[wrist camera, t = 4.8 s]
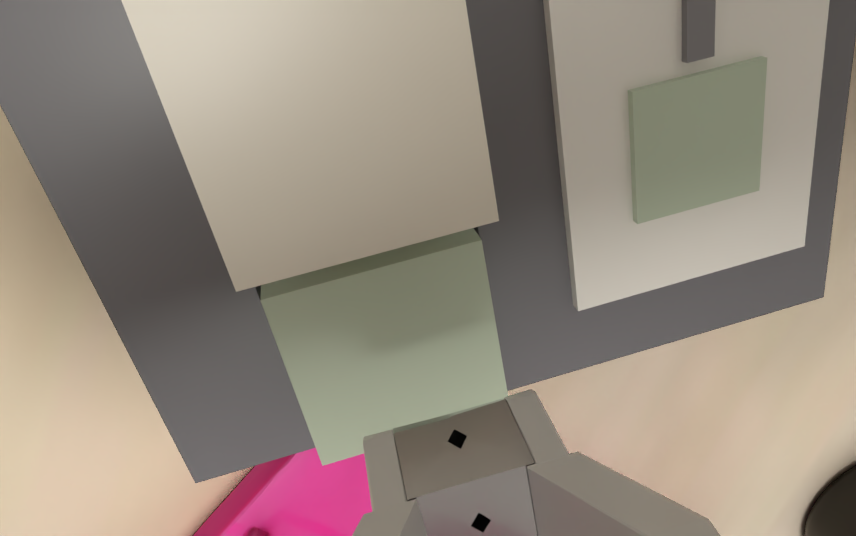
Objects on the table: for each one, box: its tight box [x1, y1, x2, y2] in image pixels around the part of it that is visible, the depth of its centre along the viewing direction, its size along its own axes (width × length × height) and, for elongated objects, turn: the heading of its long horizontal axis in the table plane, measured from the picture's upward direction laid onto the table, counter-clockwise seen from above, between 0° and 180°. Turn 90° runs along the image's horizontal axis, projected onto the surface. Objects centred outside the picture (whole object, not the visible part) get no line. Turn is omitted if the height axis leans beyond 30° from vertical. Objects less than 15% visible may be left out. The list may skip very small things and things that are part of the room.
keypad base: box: [0, 0, 856, 483], centre depth 14 cm, size 17×17×4 cm
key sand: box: [121, 0, 499, 292], centre depth 11 cm, size 4×4×4 cm
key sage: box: [260, 228, 508, 466], centre depth 15 cm, size 4×4×4 cm
